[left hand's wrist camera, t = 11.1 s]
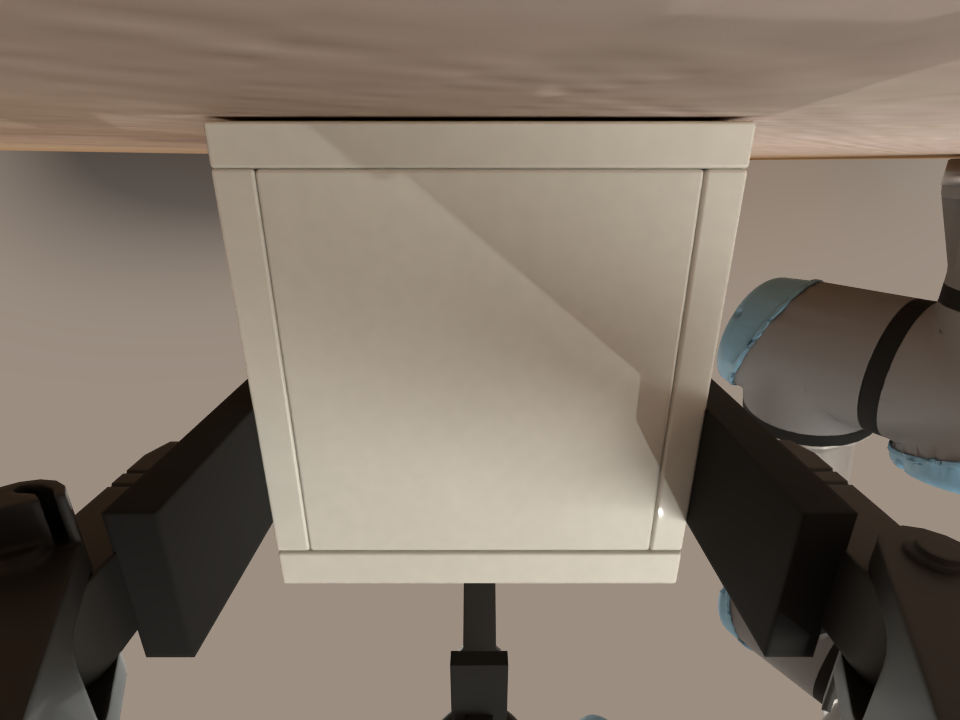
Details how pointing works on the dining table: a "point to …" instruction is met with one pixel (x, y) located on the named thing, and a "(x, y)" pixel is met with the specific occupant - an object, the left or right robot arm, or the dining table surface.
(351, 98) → the dining table surface
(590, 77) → the dining table surface
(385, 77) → the dining table surface
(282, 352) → the chest
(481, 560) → the lid
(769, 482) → the left robot arm
